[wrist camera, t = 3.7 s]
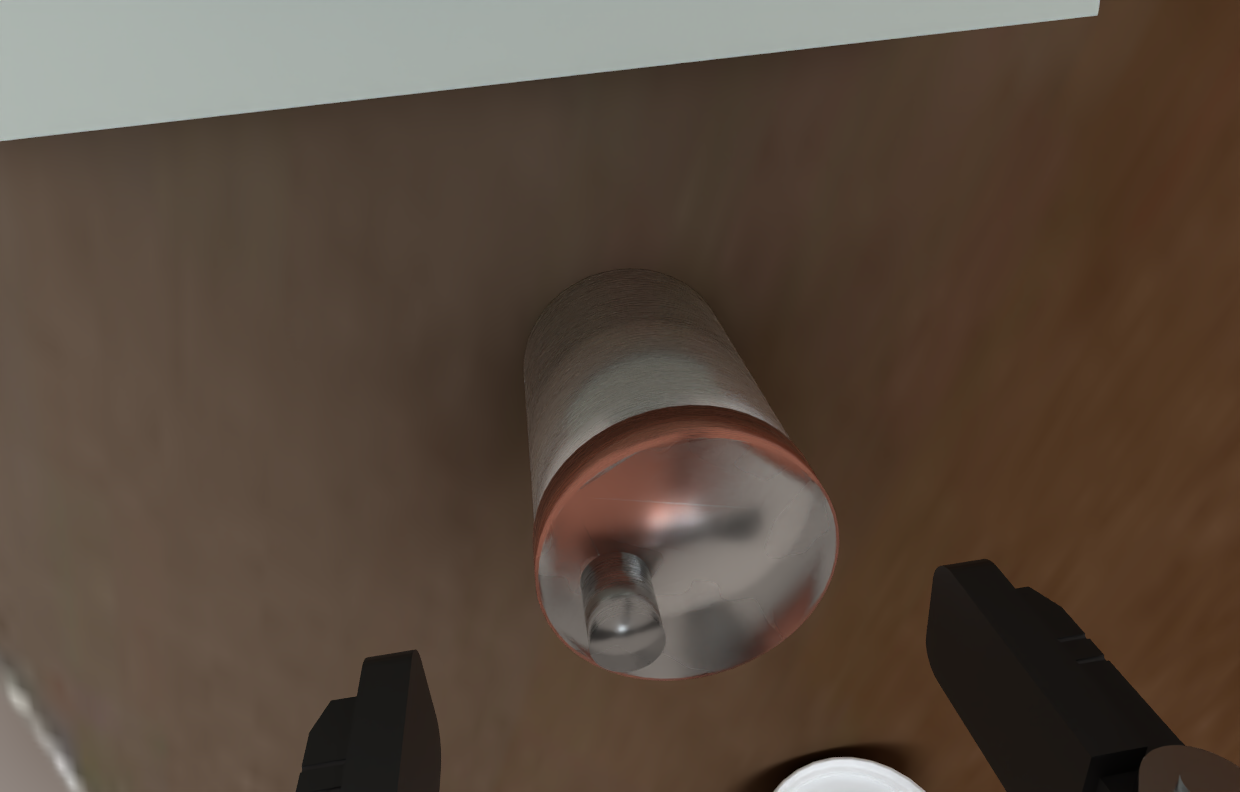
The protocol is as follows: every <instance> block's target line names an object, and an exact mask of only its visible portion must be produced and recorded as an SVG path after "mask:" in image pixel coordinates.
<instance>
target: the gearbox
mask: <svg viewBox="0 0 1240 792" xmlns="http://www.w3.org/2000/svg"><path fill="white" fill-rule="evenodd" d="M1099 4H1100V0H0V141H6V140H14V139H23V138H32V137H40V136H49V135H58V134H67V133H75V132H84V131H93V130H102V129H110V128H119V127H128V126H136V125H145V124H154V123H163V122H171V121H180V120H189V119H198V118H206V117H215V116H224V115H232V114H241V113H250V112H259V111H267V110H276V109H285V108H293V107H302V106H311V105H320V104H328V103H337V102H346V101H355V100H363V99H372V98H381V97H389V96H398V95H407V94H416V93H424V92H433V91H442V90H451V89H459V88H468V87H477V86H485V85H494V84H503V83H512V82H520V81H529V80H538V79H547V78H555V77H564V76H573V75H581V74H590V73H599V72H608V71H616V70H625V69H634V68H643V67H651V66H660V65H669V64H677V63H686V62H695V61H704V60H712V59H721V58H730V57H739V56H747V55H756V54H765V53H773V52H782V51H791V50H800V49H808V48H817V47H826V46H835V45H843V44H852V43H861V42H869V41H878V40H887V39H896V38H904V37H913V36H922V35H931V34H939V33H948V32H957V31H965V30H974V29H983V28H992V27H1000V26H1009V25H1018V24H1027V23H1035V22H1044V21H1053V20H1061V19H1070V18H1079V17H1088V16H1096V15H1098V10H1099Z"/></svg>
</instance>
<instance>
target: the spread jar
mask: <svg viewBox="0 0 1240 792" xmlns="http://www.w3.org/2000/svg"><path fill="white" fill-rule="evenodd" d="M773 792H926V791H925V790H923V789H922V788H921V787H920V786H919V785H917V784H916V783H915V782H914V781H913V780H911V779H910V778H908V777H907V776H905V775H903V774H901V773H900V772H898V771H896V770H895V769H893V768H891V767H888V766H886V765H883V764H880V763H878V762H875V761H872V760H867V759H861V758H856V757H832V758H827V759H823V760H818V761H814V762H812V763H810V764H808V765H805V766H803V767H801V768H799V769H797V770H796V771H794V772H793V773H792V774H791V775H789V776H788V777H787V778H785V779H784V780H783V781H782V782H781V783H780V784H779V785H778V786H777V788H776V789H775V790H774V791H773Z"/></svg>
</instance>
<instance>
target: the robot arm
mask: <svg viewBox="0 0 1240 792" xmlns="http://www.w3.org/2000/svg"><path fill="white" fill-rule="evenodd" d="M926 648H927V654H928V658H929V662H930V665H931V668H932V671H933V673H934V675H935V677H936V679H937V681H938V683H939V684H940V686H941V687H942V689H943V691H944V692H945V694H946V695H947V697H948V699H949V700H950V702H951V703H952V705H953V707H954V708H955V710H956V711H957V713H958V714H959V716H960V718H961V719H962V721H963V722H964V724H965V726H966V727H967V729H968V730H969V732H970V734H971V735H972V737H973V738H974V740H975V742H976V743H977V745H978V746H979V748H980V750H981V751H982V753H983V754H984V756H985V758H986V759H987V761H988V762H989V764H990V766H991V767H992V769H993V770H994V772H995V774H996V775H997V777H998V778H999V780H1000V782H1001V783H1002V785H1003V786H1004V788H1005V790H1006V791H1007V792H1240V768H1239V767H1238V766H1237V765H1235V764H1233V763H1232V762H1230V761H1228V760H1227V759H1225V758H1223V757H1221V756H1218V755H1216V754H1214V753H1211V752H1209V751H1206V750H1203V749H1199V748H1195V747H1191V746H1185V745H1184V744H1183V743H1182V742H1181V741H1180V740H1179V739H1178V738H1177V736H1176V735H1175V734H1174V733H1173V732H1172V731H1171V730H1170V729H1169V727H1168V726H1167V725H1166V724H1165V723H1164V722H1163V721H1162V720H1161V718H1160V717H1159V716H1158V715H1157V714H1156V713H1155V712H1154V711H1153V709H1152V708H1151V707H1150V706H1149V705H1148V704H1147V703H1146V702H1145V700H1144V699H1143V698H1142V697H1141V696H1140V695H1139V694H1138V693H1137V691H1136V690H1135V689H1134V688H1133V687H1132V686H1131V685H1130V684H1129V682H1128V681H1127V680H1126V679H1125V678H1124V677H1123V676H1122V675H1121V673H1120V672H1119V671H1118V670H1117V669H1116V668H1115V667H1114V666H1113V664H1112V663H1111V662H1110V661H1106V660H1105V658H1104V654H1103V653H1102V652H1101V651H1100V650H1099V649H1098V648H1097V646H1096V645H1095V644H1094V643H1093V642H1092V641H1091V640H1090V639H1086V637H1085V633H1084V632H1083V631H1082V630H1081V628H1080V627H1079V626H1078V625H1077V624H1076V623H1075V622H1074V621H1073V619H1072V618H1071V617H1070V616H1069V615H1068V614H1067V613H1066V612H1065V610H1064V609H1063V608H1062V607H1060V606H1059V605H1057V604H1056V603H1054V602H1052V601H1051V600H1049V599H1048V598H1046V597H1044V596H1043V595H1041V594H1040V593H1038V592H1037V591H1035V590H1033V589H1032V588H1030V587H1023V588H1017V589H1015V588H1014V587H1013V585H1012V584H1011V583H1010V582H1009V581H1008V579H1007V578H1006V577H1005V576H1004V575H1003V573H1002V572H1001V571H1000V570H999V569H998V568H997V566H996V565H995V564H994V563H993V562H991V561H990V560H987V559H981V560H975V561H969V562H962V563H956V564H950V565H944V566H939V567H938V568H937V569H936V570H935V573H934V577H933V584H932V592H931V601H930V609H929V617H928V626H927V634H926ZM440 771H441V746H440V735H439V728H438V722H437V718H436V714H435V710H434V706H433V703H432V699H431V695H430V691H429V688H428V684H427V680H426V676H425V673H424V669H423V665H422V661H421V658H420V655H419V653H418V651H417V650H410V651H404V652H398V653H392V654H386V655H380V656H374V657H367V658H366V659H365V660H364V662H363V666H362V671H361V676H360V682H359V688H358V693H357V696H356V697H350V698H344V699H338V700H332V701H330V703H329V704H328V706H327V707H326V709H325V710H324V712H323V713H322V715H321V716H320V718H319V719H318V721H317V722H316V724H315V725H314V727H313V728H312V730H311V731H310V733H309V737H308V741H307V746H306V750H305V754H304V759H303V763H302V773H300V776H299V780H298V785H297V789H296V792H439V788H440Z"/></svg>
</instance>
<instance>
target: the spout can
mask: <svg viewBox="0 0 1240 792" xmlns="http://www.w3.org/2000/svg"><path fill="white" fill-rule="evenodd" d="M523 369H524V383H525V398H526V412H527V426H528V440H529V454H530V469H531V483H532V497H533V511H534V529H533V552H534V567H535V581H536V592H537V596H538V600H539V603H540V607H541V610H542V612H543V614H544V616H545V618H546V620H547V622H548V624H549V625H550V627H551V628H552V630H553V631H554V633H555V634H556V635H557V636H558V638H559V639H560V640H561V641H562V642H563V643H564V644H565V645H566V646H567V647H568V648H570V649H571V650H572V651H573V652H575V653H576V654H577V655H578V656H580V657H581V658H583V659H585V660H586V661H588V662H590V663H592V664H593V665H595V666H598V667H600V668H602V669H605V670H607V671H610V672H613V673H616V674H620V675H623V676H627V677H633V678H638V679H645V680H658V681H667V680H685V679H693V678H699V677H704V676H708V675H713V674H717V673H720V672H723V671H726V670H729V669H733V668H735V667H737V666H740V665H742V664H744V663H747V662H749V661H751V660H753V659H755V658H757V657H759V656H760V655H762V654H764V653H766V652H768V651H769V650H771V649H772V648H773V647H775V646H776V645H778V644H779V643H781V642H782V641H783V640H785V639H786V638H787V637H788V636H789V635H791V634H792V633H793V632H794V631H795V630H796V629H797V628H798V627H799V626H800V625H801V624H802V623H803V622H804V621H805V620H806V619H807V618H808V617H809V615H810V614H811V613H812V612H813V610H814V609H815V608H816V606H817V605H818V604H819V602H820V600H821V599H822V597H823V595H824V594H825V592H826V590H827V588H828V586H829V583H830V581H831V579H832V577H833V574H834V570H835V567H836V563H837V559H838V551H839V528H838V523H837V518H836V513H835V511H834V508H833V505H832V503H831V500H830V498H829V496H828V495H827V493H826V491H825V490H824V488H823V486H822V485H821V483H820V482H819V480H818V478H817V477H816V475H815V473H814V472H813V470H812V469H811V467H810V465H809V464H808V462H807V460H806V459H805V457H804V455H803V454H802V452H801V451H800V450H799V449H798V448H797V447H796V445H795V444H794V443H793V442H792V441H791V440H790V438H789V436H788V435H787V433H786V431H785V430H784V428H783V426H782V425H781V423H780V422H779V420H778V418H777V417H776V415H775V413H774V412H773V410H772V408H771V407H770V405H769V403H768V402H767V400H766V398H765V397H764V395H763V394H762V392H761V390H760V389H759V387H758V385H757V384H756V382H755V380H754V379H753V377H752V375H751V374H750V372H749V371H748V369H747V367H746V366H745V364H744V362H743V361H742V359H741V357H740V356H739V354H738V352H737V351H736V349H735V347H734V346H733V344H732V343H731V341H730V339H729V338H728V336H727V334H726V333H725V331H724V329H723V328H722V326H721V324H720V323H719V321H718V319H717V318H716V316H715V315H714V313H713V311H712V310H711V308H710V307H709V305H708V304H707V303H706V302H705V301H704V299H703V298H702V297H701V296H700V295H699V294H697V293H696V292H695V291H694V290H693V289H692V288H690V287H689V286H687V285H686V284H684V283H683V282H681V281H679V280H677V279H675V278H673V277H671V276H668V275H665V274H662V273H659V272H654V271H649V270H641V269H621V270H613V271H608V272H603V273H600V274H597V275H594V276H591V277H588V278H586V279H584V280H582V281H580V282H577V283H576V284H574V285H572V286H571V287H569V288H568V289H566V290H565V291H563V292H562V293H561V294H560V295H559V296H557V297H556V298H555V299H554V300H553V301H552V302H551V303H550V304H549V305H548V306H547V307H546V308H545V310H544V311H543V312H542V314H541V315H540V317H539V318H538V319H537V321H536V323H535V325H534V327H533V329H532V331H531V333H530V336H529V339H528V341H527V344H526V349H525V354H524V367H523Z"/></svg>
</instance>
